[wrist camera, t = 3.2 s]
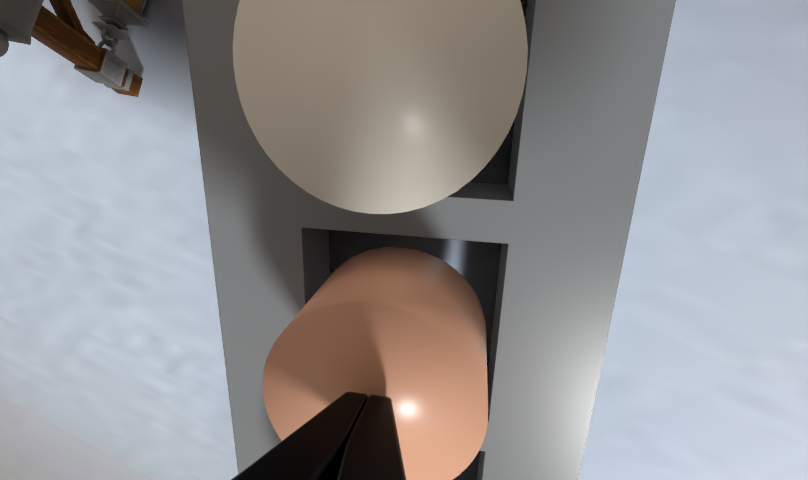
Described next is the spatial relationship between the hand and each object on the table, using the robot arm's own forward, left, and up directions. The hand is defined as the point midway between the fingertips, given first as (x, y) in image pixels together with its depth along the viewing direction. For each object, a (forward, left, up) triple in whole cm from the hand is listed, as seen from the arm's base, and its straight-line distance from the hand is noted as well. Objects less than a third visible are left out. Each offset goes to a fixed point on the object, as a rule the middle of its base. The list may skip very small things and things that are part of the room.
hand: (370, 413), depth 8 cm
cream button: (0, -6, -3) cm, 7 cm away
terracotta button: (0, 0, -3) cm, 3 cm away
